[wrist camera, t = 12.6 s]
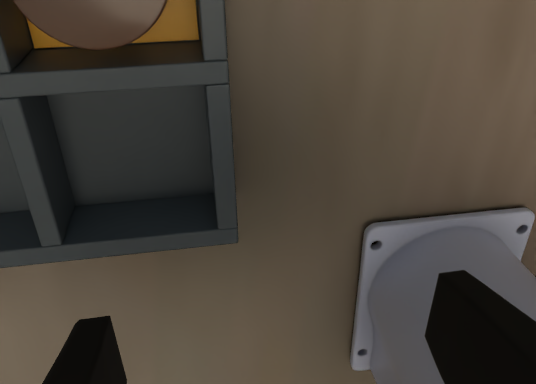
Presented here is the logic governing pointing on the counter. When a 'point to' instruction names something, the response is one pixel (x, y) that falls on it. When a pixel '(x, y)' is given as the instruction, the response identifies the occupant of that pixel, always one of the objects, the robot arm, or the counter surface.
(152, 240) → the grid
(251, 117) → the counter surface
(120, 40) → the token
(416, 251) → the robot arm
